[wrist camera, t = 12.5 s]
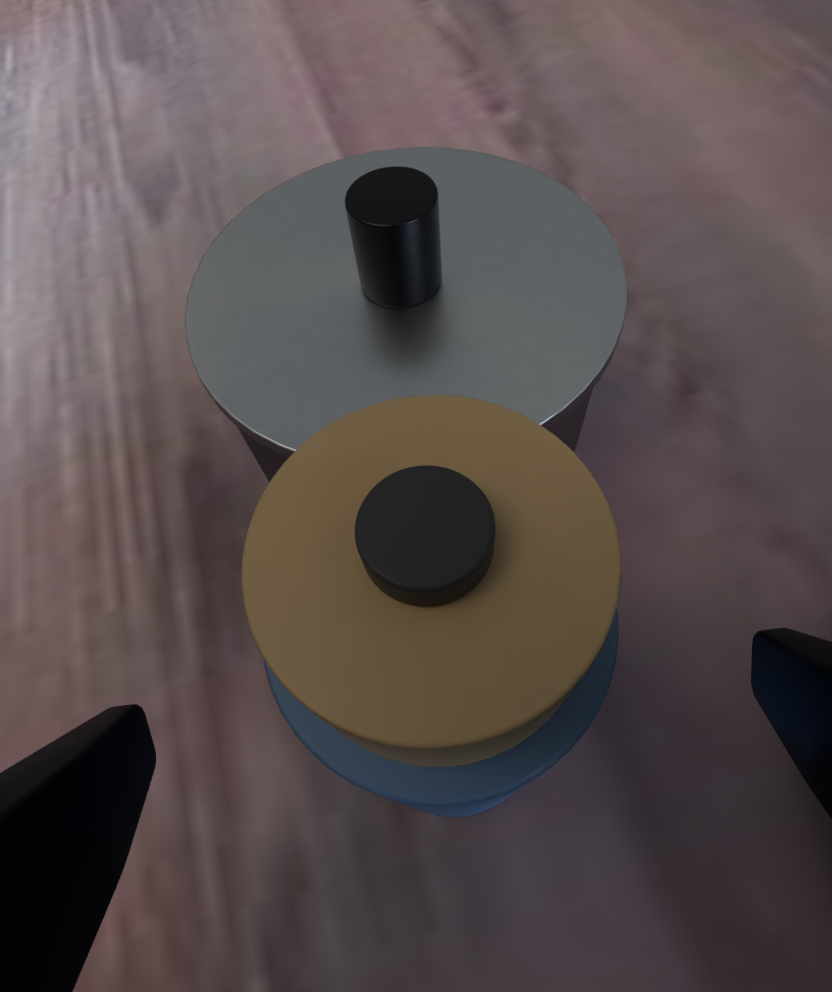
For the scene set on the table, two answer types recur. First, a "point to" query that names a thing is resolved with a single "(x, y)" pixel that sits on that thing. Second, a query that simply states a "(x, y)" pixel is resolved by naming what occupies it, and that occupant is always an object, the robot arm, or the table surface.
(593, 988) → the table surface
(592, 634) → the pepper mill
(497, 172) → the pot lid
